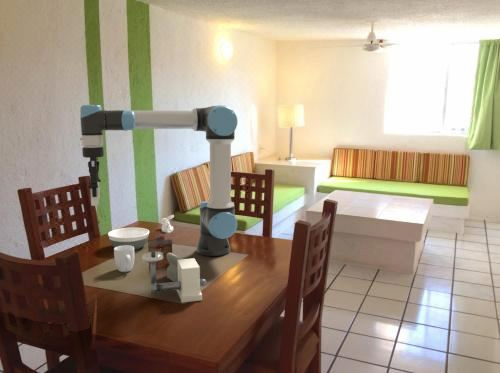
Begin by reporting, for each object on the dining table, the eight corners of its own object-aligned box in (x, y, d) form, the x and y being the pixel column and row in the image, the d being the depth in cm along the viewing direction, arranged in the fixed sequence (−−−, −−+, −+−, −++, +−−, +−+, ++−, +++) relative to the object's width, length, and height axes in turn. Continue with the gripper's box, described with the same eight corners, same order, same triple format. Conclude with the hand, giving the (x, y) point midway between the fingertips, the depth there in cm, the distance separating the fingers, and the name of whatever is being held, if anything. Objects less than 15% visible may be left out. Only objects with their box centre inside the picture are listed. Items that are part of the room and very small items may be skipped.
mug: (140, 273, 181) (139, 250, 179) (120, 277, 176) (119, 253, 175) (131, 265, 190) (130, 244, 188) (112, 269, 185) (111, 247, 184)
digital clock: (194, 282, 171) (193, 259, 169) (174, 286, 168) (173, 262, 166) (182, 271, 183) (182, 249, 182) (164, 274, 180) (163, 252, 178)
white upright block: (195, 287, 166) (195, 257, 165) (202, 300, 155) (201, 267, 153) (176, 289, 164) (175, 259, 162) (181, 302, 153) (181, 270, 151)
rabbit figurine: (159, 231, 245) (158, 213, 243) (172, 229, 248) (172, 212, 246) (163, 236, 234) (163, 218, 232) (178, 235, 237) (177, 217, 235)
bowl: (158, 247, 215) (158, 230, 214) (128, 258, 199) (127, 239, 198) (130, 241, 225) (129, 225, 223) (99, 251, 209) (98, 233, 208)
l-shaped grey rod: (204, 284, 165) (203, 241, 162) (208, 291, 158) (208, 247, 155) (142, 291, 158) (141, 247, 156) (144, 298, 152) (142, 253, 149)
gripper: (84, 144, 182) (87, 196, 186) (80, 149, 159) (83, 209, 162) (103, 144, 184) (106, 195, 188) (102, 148, 161) (105, 207, 164)
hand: (95, 202), depth 175 cm, fingers open, 13 cm apart
